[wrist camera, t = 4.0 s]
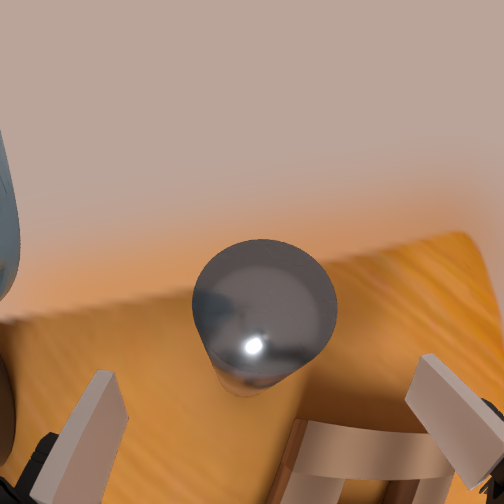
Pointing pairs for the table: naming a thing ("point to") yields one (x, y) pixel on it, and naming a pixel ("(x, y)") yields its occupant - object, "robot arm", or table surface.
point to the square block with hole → (359, 465)
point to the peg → (262, 313)
